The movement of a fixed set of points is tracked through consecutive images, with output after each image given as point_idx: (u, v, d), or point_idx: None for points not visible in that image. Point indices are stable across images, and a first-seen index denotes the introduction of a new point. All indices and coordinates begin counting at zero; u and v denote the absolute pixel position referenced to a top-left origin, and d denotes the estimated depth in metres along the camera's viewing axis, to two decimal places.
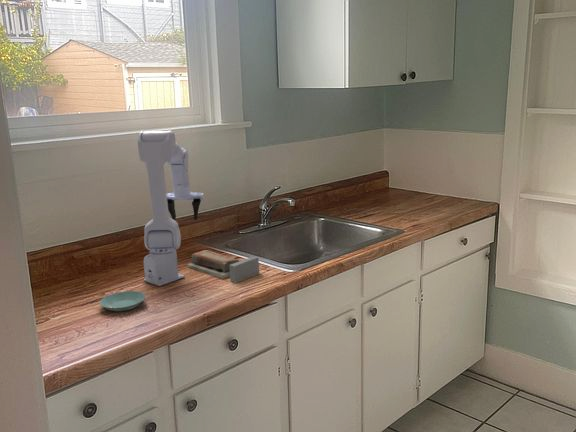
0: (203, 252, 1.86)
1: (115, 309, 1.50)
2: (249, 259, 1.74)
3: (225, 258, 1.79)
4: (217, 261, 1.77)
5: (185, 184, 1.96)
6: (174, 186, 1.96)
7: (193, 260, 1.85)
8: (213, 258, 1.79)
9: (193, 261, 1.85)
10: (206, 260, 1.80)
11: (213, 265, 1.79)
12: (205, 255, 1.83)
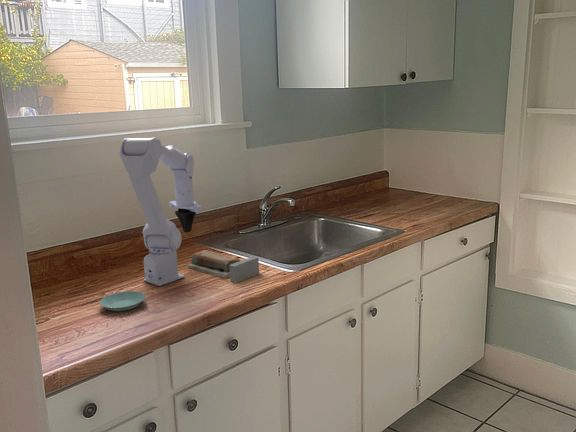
0: (203, 252, 1.86)
1: (115, 309, 1.50)
2: (249, 259, 1.74)
3: (226, 258, 1.79)
4: (218, 261, 1.77)
5: (183, 192, 1.83)
6: (175, 193, 1.85)
7: (193, 260, 1.85)
8: (215, 258, 1.79)
9: (193, 261, 1.85)
10: (207, 260, 1.80)
11: (214, 265, 1.79)
12: (205, 255, 1.83)
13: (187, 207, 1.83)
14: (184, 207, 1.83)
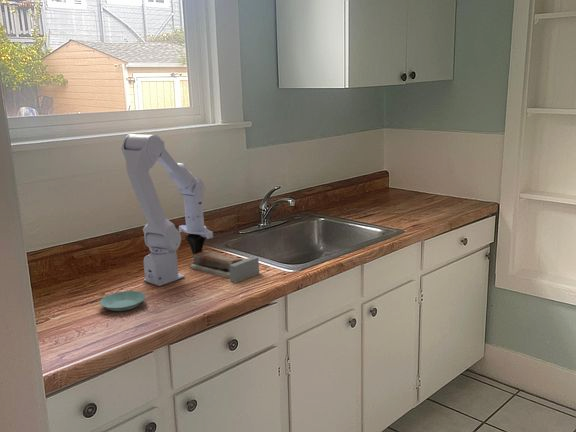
0: (205, 252, 1.85)
1: (115, 309, 1.50)
2: (249, 259, 1.74)
3: (229, 258, 1.79)
4: (222, 261, 1.77)
5: (193, 217, 1.82)
6: None
7: (195, 261, 1.84)
8: (218, 258, 1.79)
9: (195, 262, 1.84)
10: (210, 260, 1.80)
11: (217, 265, 1.78)
12: (208, 255, 1.83)
13: (197, 232, 1.82)
14: (194, 232, 1.82)
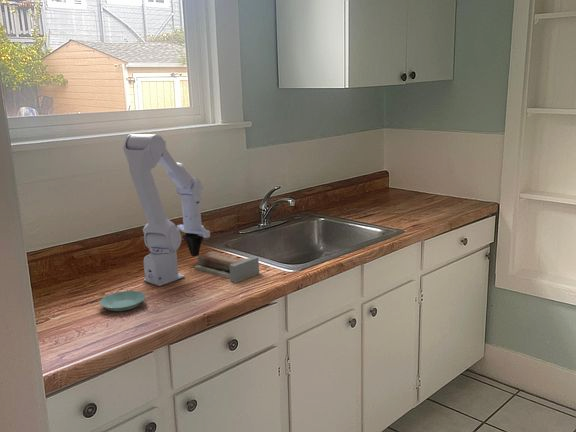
0: (210, 253, 1.84)
1: (115, 309, 1.50)
2: (249, 259, 1.74)
3: (234, 259, 1.78)
4: (226, 262, 1.76)
5: (190, 217, 1.83)
6: None
7: (200, 262, 1.83)
8: (222, 259, 1.78)
9: (200, 263, 1.83)
10: (214, 261, 1.79)
11: (221, 267, 1.77)
12: (212, 256, 1.82)
13: (195, 232, 1.83)
14: (192, 232, 1.83)
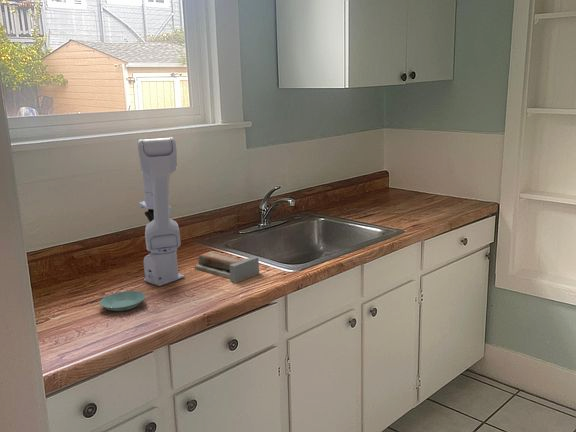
0: (210, 253, 1.85)
1: (116, 309, 1.50)
2: (249, 259, 1.74)
3: (234, 259, 1.78)
4: (227, 262, 1.76)
5: (152, 193, 1.82)
6: None
7: (200, 261, 1.84)
8: (223, 259, 1.78)
9: (200, 262, 1.84)
10: (215, 261, 1.79)
11: (222, 266, 1.78)
12: (213, 255, 1.82)
13: None
14: (153, 208, 1.82)
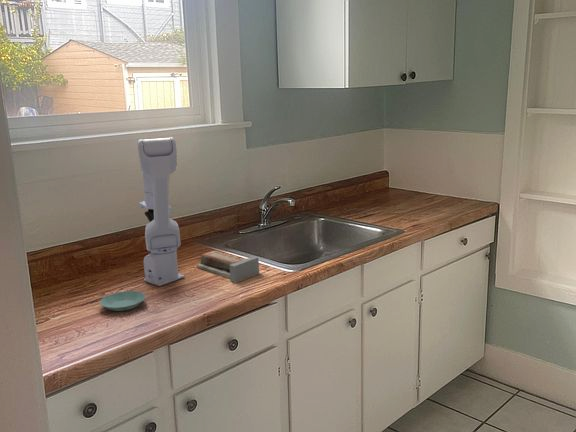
0: (212, 253, 1.85)
1: (116, 309, 1.50)
2: (249, 259, 1.74)
3: (235, 259, 1.78)
4: (227, 262, 1.76)
5: (152, 193, 1.82)
6: None
7: (202, 261, 1.84)
8: (223, 258, 1.78)
9: (202, 262, 1.84)
10: (216, 260, 1.79)
11: (222, 266, 1.78)
12: (215, 255, 1.82)
13: None
14: (153, 208, 1.82)
